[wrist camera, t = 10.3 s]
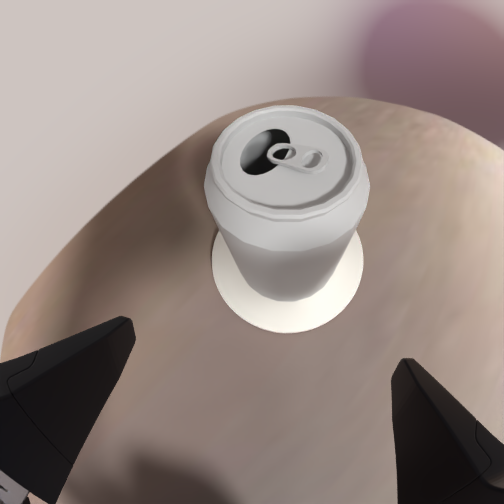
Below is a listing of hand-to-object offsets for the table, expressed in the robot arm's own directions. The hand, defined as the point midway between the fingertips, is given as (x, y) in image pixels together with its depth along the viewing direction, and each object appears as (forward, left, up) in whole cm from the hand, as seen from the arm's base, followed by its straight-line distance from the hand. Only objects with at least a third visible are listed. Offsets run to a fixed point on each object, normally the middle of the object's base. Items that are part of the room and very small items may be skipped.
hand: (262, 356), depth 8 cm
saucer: (+3, -7, -13) cm, 15 cm away
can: (+3, -7, -12) cm, 14 cm away
